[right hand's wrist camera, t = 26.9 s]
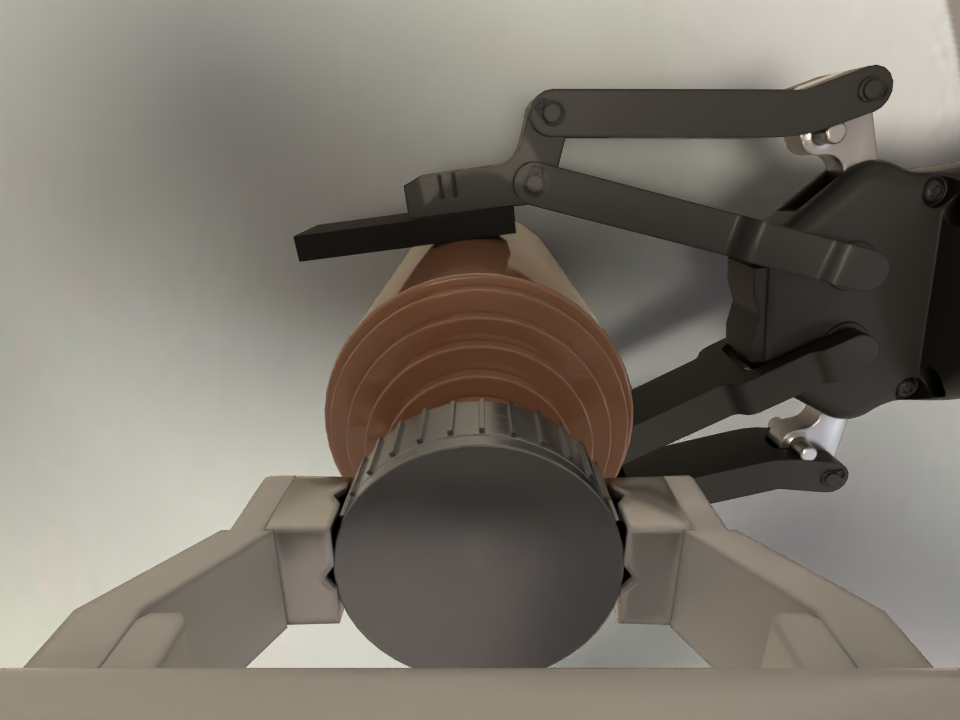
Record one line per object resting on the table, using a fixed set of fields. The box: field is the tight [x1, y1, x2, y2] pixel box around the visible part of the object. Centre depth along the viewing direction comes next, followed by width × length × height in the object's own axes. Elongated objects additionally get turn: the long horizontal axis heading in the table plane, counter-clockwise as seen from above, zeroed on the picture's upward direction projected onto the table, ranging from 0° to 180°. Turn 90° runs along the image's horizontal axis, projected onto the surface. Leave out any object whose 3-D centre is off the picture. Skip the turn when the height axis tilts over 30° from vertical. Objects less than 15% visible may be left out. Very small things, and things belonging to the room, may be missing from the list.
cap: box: [333, 399, 624, 668], centre depth 9 cm, size 4×5×2 cm
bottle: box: [325, 221, 633, 478], centre depth 17 cm, size 7×7×17 cm
